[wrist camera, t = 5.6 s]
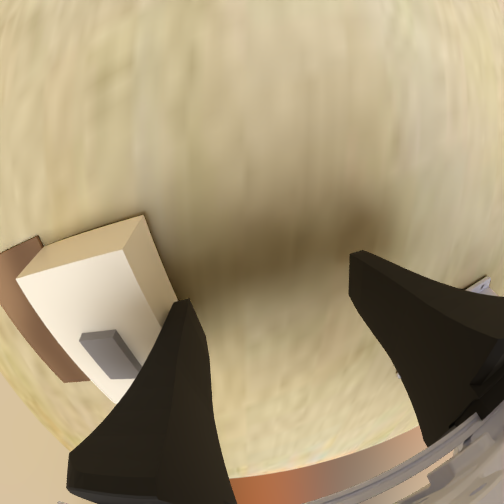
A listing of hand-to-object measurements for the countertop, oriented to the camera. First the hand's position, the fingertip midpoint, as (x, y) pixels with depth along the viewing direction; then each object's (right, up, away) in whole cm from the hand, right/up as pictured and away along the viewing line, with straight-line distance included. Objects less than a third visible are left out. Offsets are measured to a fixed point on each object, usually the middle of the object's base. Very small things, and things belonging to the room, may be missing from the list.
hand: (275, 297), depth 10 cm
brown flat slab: (-11, -2, 0) cm, 11 cm away
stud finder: (-6, -1, +1) cm, 6 cm away
